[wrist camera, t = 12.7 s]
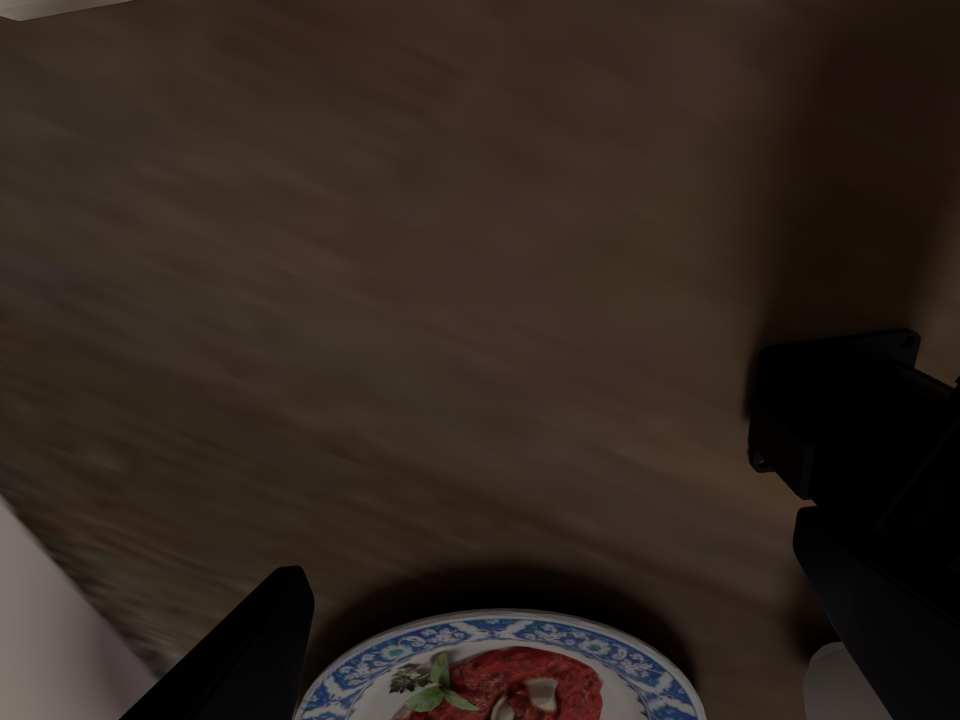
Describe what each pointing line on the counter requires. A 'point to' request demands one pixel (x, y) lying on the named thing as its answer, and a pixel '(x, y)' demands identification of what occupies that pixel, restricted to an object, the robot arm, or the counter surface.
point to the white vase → (839, 688)
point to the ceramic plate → (502, 672)
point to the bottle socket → (46, 7)
